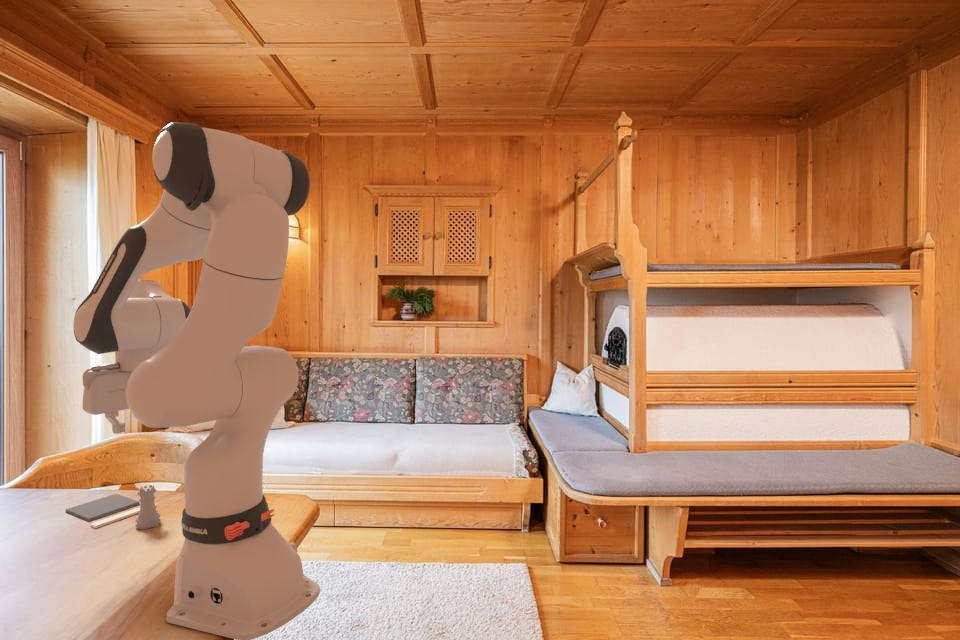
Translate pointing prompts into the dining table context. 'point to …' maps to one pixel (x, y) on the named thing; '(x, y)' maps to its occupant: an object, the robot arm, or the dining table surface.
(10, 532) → the dining table surface
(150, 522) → the rook chess piece
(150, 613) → the dining table surface
